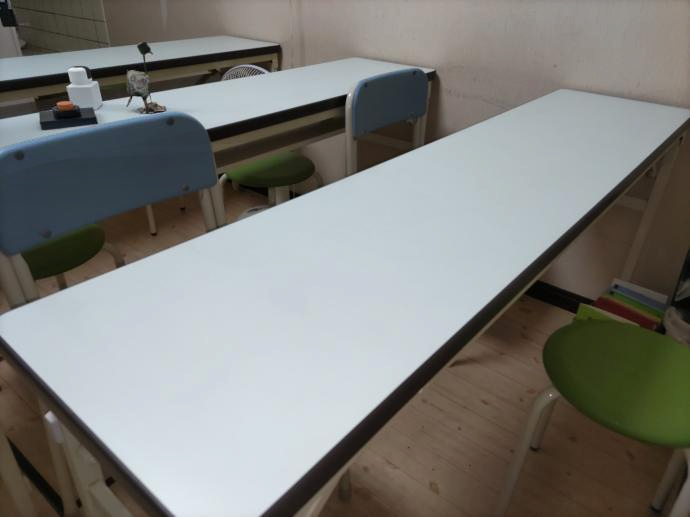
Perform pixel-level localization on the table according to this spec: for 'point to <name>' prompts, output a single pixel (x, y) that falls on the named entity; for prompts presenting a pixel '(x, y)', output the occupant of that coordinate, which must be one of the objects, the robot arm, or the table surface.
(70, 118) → the button housing
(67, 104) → the release button
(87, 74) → the medicine bottle
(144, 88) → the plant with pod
